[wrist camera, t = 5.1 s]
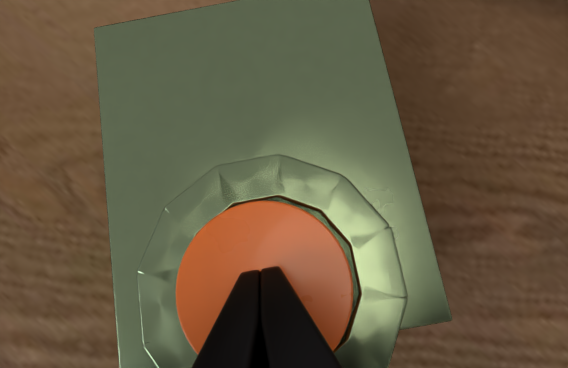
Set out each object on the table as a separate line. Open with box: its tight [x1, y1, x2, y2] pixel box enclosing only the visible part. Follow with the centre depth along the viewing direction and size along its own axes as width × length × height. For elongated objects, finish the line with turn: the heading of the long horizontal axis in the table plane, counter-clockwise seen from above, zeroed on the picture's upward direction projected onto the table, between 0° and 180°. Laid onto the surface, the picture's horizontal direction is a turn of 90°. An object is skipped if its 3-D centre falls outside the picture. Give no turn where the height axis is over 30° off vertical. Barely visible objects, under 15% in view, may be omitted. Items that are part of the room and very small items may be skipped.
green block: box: [94, 0, 452, 368], centre depth 14 cm, size 14×10×7 cm
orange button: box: [176, 201, 353, 354], centre depth 9 cm, size 4×4×2 cm
